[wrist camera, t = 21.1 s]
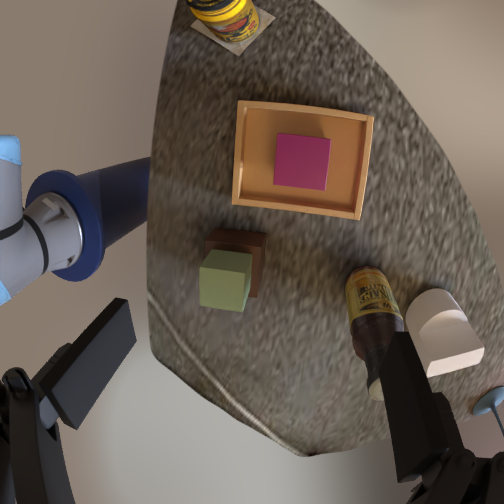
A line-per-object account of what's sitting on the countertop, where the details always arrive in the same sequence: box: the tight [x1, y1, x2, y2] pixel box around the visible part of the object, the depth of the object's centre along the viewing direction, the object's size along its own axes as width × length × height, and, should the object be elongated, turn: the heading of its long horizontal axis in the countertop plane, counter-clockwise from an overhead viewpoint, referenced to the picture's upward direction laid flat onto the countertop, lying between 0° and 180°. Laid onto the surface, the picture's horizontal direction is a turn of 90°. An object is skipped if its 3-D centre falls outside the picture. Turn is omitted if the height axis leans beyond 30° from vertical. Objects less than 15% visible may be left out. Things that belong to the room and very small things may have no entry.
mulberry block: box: [273, 133, 331, 191], centre depth 31 cm, size 6×6×6 cm
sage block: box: [199, 249, 252, 312], centre depth 34 cm, size 5×5×5 cm
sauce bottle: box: [345, 266, 404, 401], centre depth 31 cm, size 6×6×20 cm
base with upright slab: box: [405, 288, 484, 378], centre depth 34 cm, size 9×9×12 cm
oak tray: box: [232, 100, 374, 220], centre depth 33 cm, size 16×13×3 cm
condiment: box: [185, 0, 275, 56], centre depth 23 cm, size 7×8×12 cm
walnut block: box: [204, 227, 266, 298], centre depth 39 cm, size 7×7×5 cm
